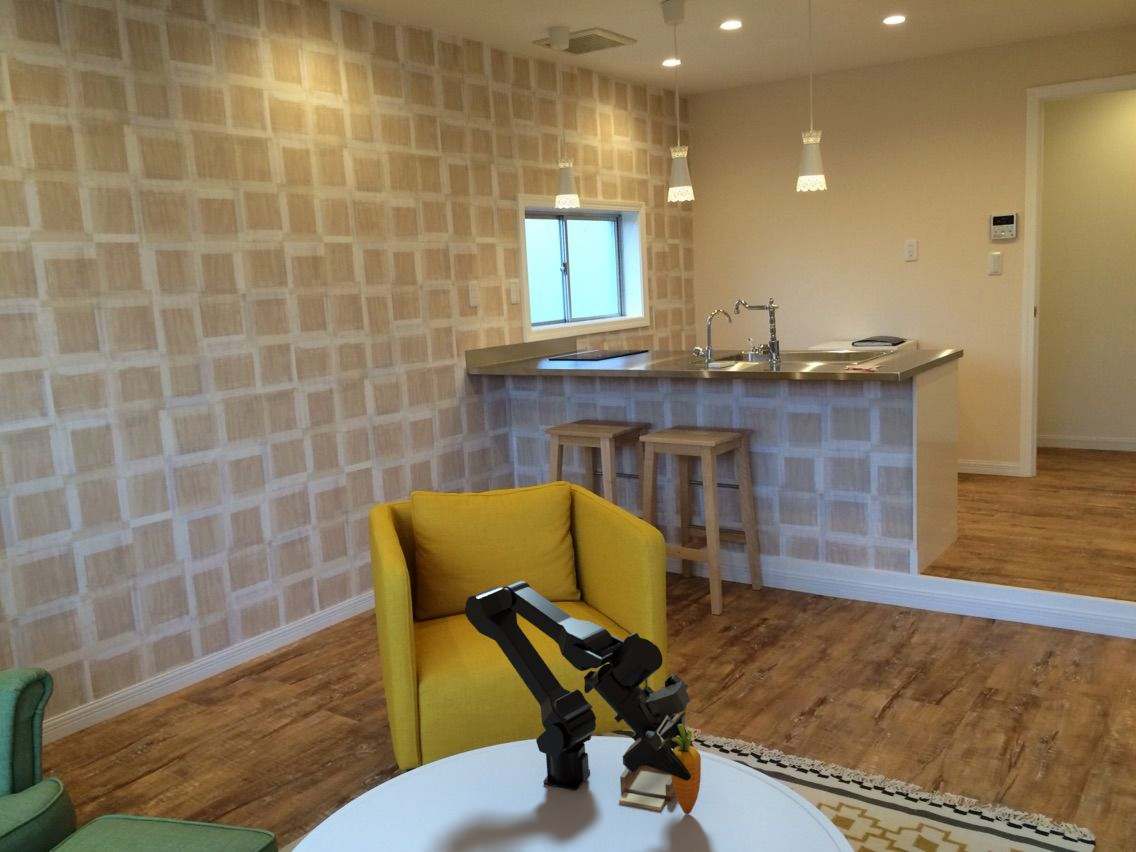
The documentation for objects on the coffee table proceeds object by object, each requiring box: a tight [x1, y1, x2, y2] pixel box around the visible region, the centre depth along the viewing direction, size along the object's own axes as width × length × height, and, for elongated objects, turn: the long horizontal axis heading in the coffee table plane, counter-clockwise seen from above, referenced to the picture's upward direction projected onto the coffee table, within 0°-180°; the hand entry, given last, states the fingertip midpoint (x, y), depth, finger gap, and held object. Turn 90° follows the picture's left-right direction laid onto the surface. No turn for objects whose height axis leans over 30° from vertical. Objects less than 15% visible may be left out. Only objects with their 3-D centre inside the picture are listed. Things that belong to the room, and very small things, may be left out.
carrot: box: [671, 724, 702, 816], centre depth 149 cm, size 5×5×15 cm
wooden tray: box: [618, 765, 676, 812], centre depth 158 cm, size 9×12×3 cm
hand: (693, 770), depth 148 cm, fingers closed on carrot, 5 cm apart
